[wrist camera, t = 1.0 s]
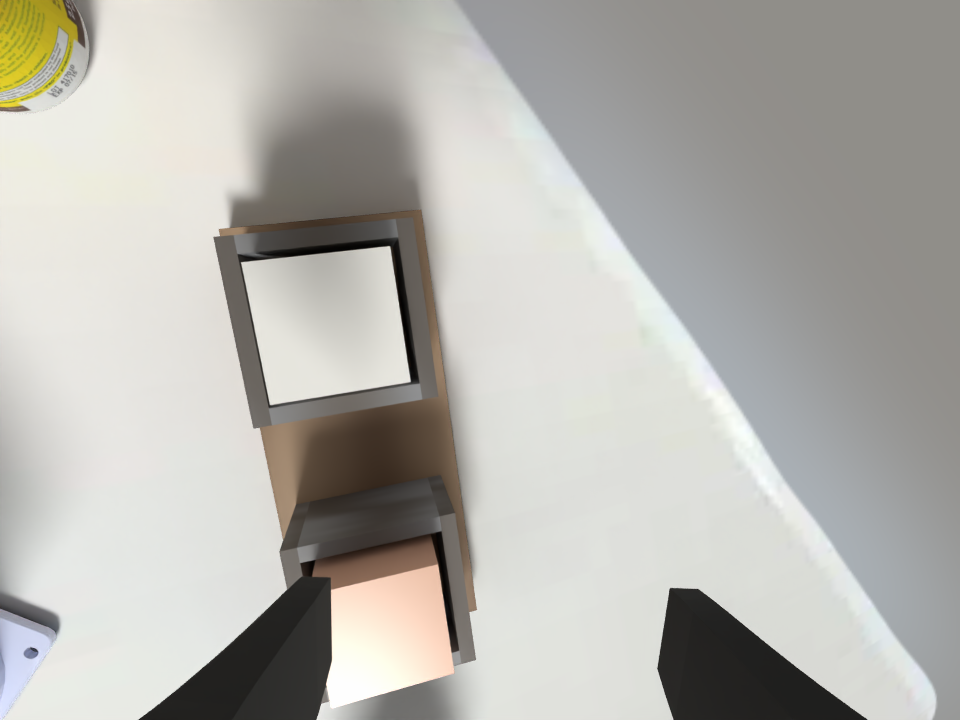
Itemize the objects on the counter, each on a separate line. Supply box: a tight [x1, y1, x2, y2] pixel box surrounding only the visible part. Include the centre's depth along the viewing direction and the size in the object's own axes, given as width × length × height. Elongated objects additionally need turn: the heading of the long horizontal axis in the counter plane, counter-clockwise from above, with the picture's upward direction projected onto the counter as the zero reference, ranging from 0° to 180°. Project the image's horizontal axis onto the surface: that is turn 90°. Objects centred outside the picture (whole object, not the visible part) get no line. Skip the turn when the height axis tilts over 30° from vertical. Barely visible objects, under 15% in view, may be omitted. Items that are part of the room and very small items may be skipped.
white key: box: [241, 246, 411, 405], centre depth 17 cm, size 4×4×2 cm
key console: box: [214, 210, 477, 704], centre depth 20 cm, size 8×19×6 cm, turn 7°
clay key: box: [312, 534, 454, 709], centre depth 18 cm, size 4×4×2 cm
